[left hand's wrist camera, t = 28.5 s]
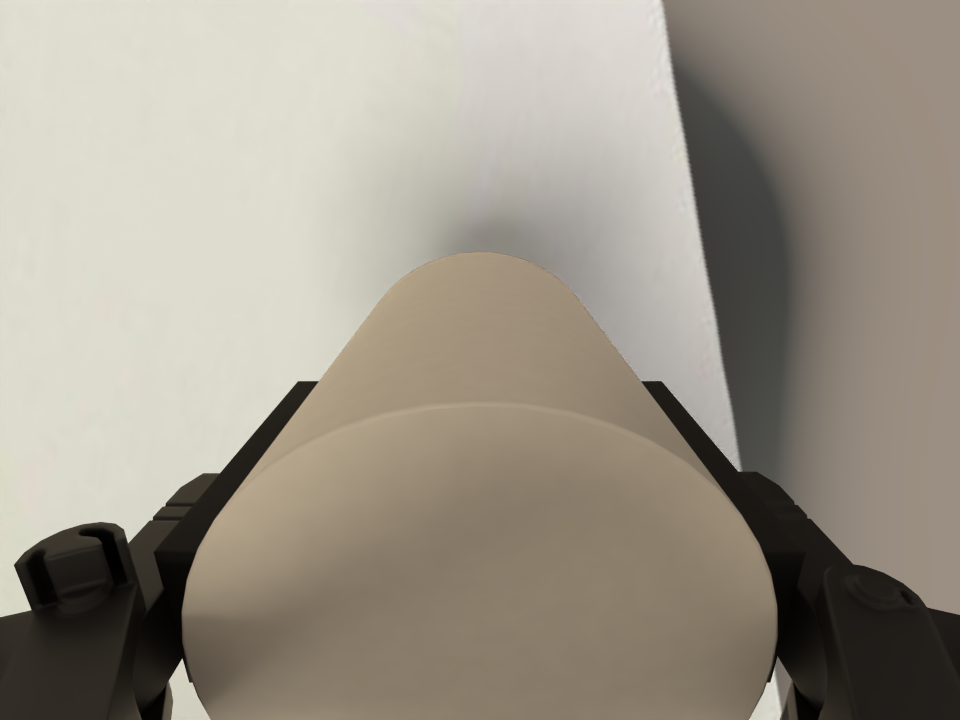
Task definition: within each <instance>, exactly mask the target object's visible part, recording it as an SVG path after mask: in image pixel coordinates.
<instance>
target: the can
mask: <svg viewBox="0 0 960 720" xmlns="http://www.w3.org/2000/svg"><path fill="white" fill-rule="evenodd" d="M777 637H778V632H777V603H776V597H775V592H774V587H773V582H772V577H771V573H770V570H769V568H768V565H767V563H766V560H765V557H764V555H763V552H762V550H761V547H760V545H759V543H758V541H757V539H756V538H755V536H754V535H753V533H752V531H751V530H750V528H749V526H748V525H747V523H746V521H745V520H744V518H743V516H742V515H741V513H740V512H739V511H738V509H737V508H736V507H735V506H734V504H733V503H732V502H731V500H730V499H729V498H728V496H727V495H726V494H725V492H724V491H723V490H722V488H721V487H720V486H719V484H718V483H717V482H716V480H715V479H714V478H713V476H712V475H711V474H710V472H709V471H708V470H707V468H706V467H705V466H704V464H703V463H702V462H701V460H700V459H699V458H698V457H697V455H696V454H695V453H694V451H693V450H692V449H691V447H690V446H689V445H688V443H687V442H686V441H685V439H684V438H683V437H682V435H681V434H680V433H679V431H678V430H677V429H676V427H675V426H674V425H673V423H672V422H671V421H670V419H669V418H668V417H667V415H666V414H665V413H664V411H663V410H662V409H661V407H660V406H659V405H658V404H657V402H656V401H655V400H654V398H653V397H652V396H651V394H650V393H649V392H648V390H647V389H646V388H645V386H644V385H643V384H642V382H641V381H640V380H639V378H638V377H637V376H636V374H635V373H634V372H633V370H632V369H631V368H630V366H629V365H628V364H627V362H626V361H625V360H624V358H623V357H622V356H621V355H620V353H619V352H618V351H617V349H616V348H615V347H614V345H613V344H612V343H611V341H610V340H609V339H608V337H607V336H606V335H605V333H604V332H603V331H602V329H601V328H600V327H599V325H598V324H597V323H596V321H595V320H594V319H593V317H592V316H591V315H590V313H589V312H588V311H587V309H586V308H585V307H584V305H583V304H582V303H581V302H580V300H579V299H578V298H577V297H576V296H575V294H574V293H573V292H572V291H571V290H570V289H569V288H568V287H567V286H566V285H565V284H564V283H563V282H562V281H560V280H559V279H558V278H557V277H555V276H554V275H552V274H551V273H549V272H548V271H546V270H545V269H543V268H541V267H539V266H537V265H535V264H533V263H531V262H529V261H526V260H523V259H520V258H517V257H514V256H510V255H505V254H500V253H491V252H469V253H459V254H455V255H450V256H445V257H442V258H439V259H437V260H434V261H431V262H428V263H426V264H424V265H422V266H421V267H419V268H417V269H415V270H413V271H412V272H410V273H409V274H407V275H406V276H404V277H403V278H402V279H400V280H399V281H398V282H397V283H396V284H395V285H394V286H393V287H392V288H391V289H389V290H388V292H387V293H386V294H385V295H384V296H383V298H382V299H381V300H380V301H379V303H378V304H377V305H376V307H375V308H374V309H373V311H372V312H371V313H370V315H369V316H368V317H367V318H366V320H365V321H364V322H363V324H362V325H361V326H360V328H359V329H358V330H357V332H356V333H355V334H354V336H353V337H352V338H351V340H350V341H349V342H348V344H347V345H346V346H345V348H344V349H343V350H342V352H341V353H340V354H339V356H338V357H337V358H336V360H335V361H334V362H333V363H332V365H331V366H330V367H329V369H328V370H327V371H326V373H325V374H324V375H323V377H322V378H321V379H320V381H319V382H318V383H317V385H316V386H315V387H314V389H313V390H312V391H311V393H310V394H309V395H308V397H307V398H306V399H305V401H304V402H303V403H302V404H301V406H300V407H299V408H298V410H297V411H296V412H295V414H294V415H293V416H292V418H291V419H290V420H289V422H288V423H287V424H286V426H285V427H284V428H283V430H282V431H281V432H280V434H279V435H278V436H277V438H276V439H275V440H274V442H273V443H272V444H271V446H270V447H269V448H268V449H267V451H266V452H265V453H264V455H263V456H262V457H261V459H260V460H259V461H258V463H257V464H256V465H255V467H254V468H253V469H252V471H251V472H250V473H249V475H248V476H247V477H246V479H245V480H244V481H243V483H242V484H241V485H240V487H239V488H238V489H237V490H236V492H235V493H234V494H233V496H232V497H231V498H230V500H229V501H228V502H227V504H226V505H225V506H224V508H223V509H222V510H221V512H220V513H219V514H218V516H217V517H216V518H215V520H214V521H213V523H212V525H211V527H210V528H209V530H208V532H207V534H206V535H205V537H204V539H203V541H202V542H201V544H200V546H199V548H198V550H197V553H196V555H195V558H194V561H193V564H192V567H191V569H190V572H189V575H188V578H187V583H186V589H185V595H184V601H183V607H182V642H183V647H184V652H185V658H186V663H187V668H188V671H189V674H190V677H191V679H192V682H193V685H194V687H195V690H196V693H197V695H198V698H199V699H200V701H201V703H202V705H203V706H204V708H205V710H206V712H207V714H208V715H209V717H210V719H211V720H749V718H750V717H751V715H752V713H753V711H754V709H755V707H756V705H757V704H758V702H759V700H760V698H761V696H762V694H763V692H764V689H765V686H766V683H767V681H768V678H769V675H770V672H771V669H772V666H773V661H774V655H775V649H776V643H777Z"/></svg>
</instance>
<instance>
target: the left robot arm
mask: <svg viewBox="0 0 960 720" xmlns="http://www.w3.org/2000/svg"><path fill="white" fill-rule="evenodd" d="M318 382H319V381H298V382H297V383H296V385H295V386H294V387H293V388H292V389H291V390H290V392H289V393H288V394H287V395H286V396H285V397H284V399H283V400H282V401H281V402H280V403H279V405H278V406H277V407H276V408H275V409H274V410H273V412H272V413H271V414H270V415H269V416H268V418H267V419H266V420H265V421H264V422H263V423H262V425H261V426H260V427H259V428H258V429H257V430H256V432H255V433H254V434H253V435H252V436H251V438H250V439H249V440H248V441H247V442H246V443H245V445H244V446H243V447H242V448H241V449H240V450H239V452H238V453H237V454H236V455H235V456H234V458H233V459H232V460H231V461H230V462H229V463H228V465H227V466H226V467H225V468H224V469H223V471H222V472H221V473H203V474H202V475H200V476H198V477H197V478H195V479H194V480H192V481H190V482H189V483H187V484H185V485H184V486H182V487H181V488H180V489H179V490H178V491H177V492H176V493H175V494H174V495H173V496H172V497H171V498H170V499H169V501H168V502H167V503H166V506H165V507H162V508H161V509H160V510H159V511H158V512H157V513H156V514H155V516H154V517H153V520H152V521H149V522H148V523H147V524H146V525H145V526H144V527H143V528H142V529H141V531H140V532H139V533H138V534H137V535H136V536H135V537H134V538H133V539H132V540H131V541H130V542H129V543H128V542H127V539H126V535H125V532H124V529H122V528H121V527H119V526H118V525H116V524H113V523H104V522H98V523H90V524H83V525H79V526H76V527H73V528H69V529H66V530H63V531H60V532H58V533H56V534H54V535H52V536H50V537H48V538H46V539H44V540H42V541H40V542H39V543H37V544H36V545H34V546H33V547H32V548H30V549H29V550H27V551H26V552H25V553H24V554H23V555H22V556H21V557H20V558H19V560H18V561H17V562H16V563H15V564H14V567H15V569H16V572H17V574H18V577H19V579H20V582H21V584H22V587H23V589H24V592H25V594H26V597H27V599H28V602H29V604H30V607H31V609H32V610H30V611H26V612H22V613H18V614H13V615H9V616H4V617H0V720H171V715H172V706H173V698H172V692H171V688H170V684H169V679H170V678H171V676H172V674H173V673H174V671H175V669H176V668H177V666H178V664H179V663H180V661H181V659H182V658H183V661H184V665H185V668H186V672H187V676H188V679H189V683H193V682H192V679H191V677H190V674H189V671H188V668H187V663H186V658H185V652H184V647H183V642H182V607H183V601H184V595H185V589H186V583H187V578H188V575H189V572H190V569H191V567H192V564H193V561H194V558H195V555H196V553H197V550H198V548H199V546H200V544H201V542H202V541H203V539H204V537H205V535H206V534H207V532H208V530H209V528H210V527H211V525H212V523H213V521H214V520H215V518H216V517H217V516H218V514H219V513H220V512H221V510H222V509H223V508H224V506H225V505H226V504H227V502H228V501H229V500H230V498H231V497H232V496H233V494H234V493H235V492H236V490H237V489H238V488H239V487H240V485H241V484H242V483H243V481H244V480H245V479H246V477H247V476H248V475H249V473H250V472H251V471H252V469H253V468H254V467H255V465H256V464H257V463H258V461H259V460H260V459H261V457H262V456H263V455H264V453H265V452H266V451H267V449H268V448H269V447H270V446H271V444H272V443H273V442H274V440H275V439H276V438H277V436H278V435H279V434H280V432H281V431H282V430H283V428H284V427H285V426H286V424H287V423H288V422H289V420H290V419H291V418H292V416H293V415H294V414H295V412H296V411H297V410H298V408H299V407H300V406H301V404H302V403H303V402H304V401H305V399H306V398H307V397H308V395H309V394H310V393H311V391H312V390H313V389H314V387H315V386H316V385H317V383H318ZM641 382H642V384H643V385H644V386H645V388H646V389H647V390H648V392H649V393H650V394H651V396H652V397H653V398H654V400H655V401H656V402H657V404H658V405H659V406H660V407H661V409H662V410H663V411H664V413H665V414H666V415H667V417H668V418H669V419H670V421H671V422H672V423H673V425H674V426H675V427H676V429H677V430H678V431H679V433H680V434H681V435H682V437H683V438H684V439H685V441H686V442H687V443H688V445H689V446H690V447H691V449H692V450H693V451H694V453H695V454H696V455H697V457H698V458H699V459H700V460H701V462H702V463H703V464H704V466H705V467H706V468H707V470H708V471H709V472H710V474H711V475H712V476H713V478H714V479H715V480H716V482H717V483H718V484H719V486H720V487H721V488H722V490H723V491H724V492H725V494H726V495H727V496H728V498H729V499H730V500H731V502H732V503H733V504H734V506H735V507H736V508H737V509H738V511H739V512H740V513H741V515H742V516H743V518H744V520H745V521H746V523H747V525H748V526H749V528H750V530H751V531H752V533H753V535H754V536H755V538H756V539H757V541H758V543H759V545H760V547H761V550H762V552H763V555H764V557H765V560H766V563H767V565H768V568H769V570H770V573H771V577H772V582H773V587H774V592H775V597H776V603H777V632H778V637H777V643H776V649H775V655H774V661H773V666H772V669H771V672H770V675H769V678H768V681H767V682H770V681H771V678H772V674H773V671H774V667H775V663H776V660H777V656H778V657H779V659H780V661H781V662H782V664H783V666H784V667H785V669H786V670H787V672H788V674H789V675H790V677H791V679H792V681H791V684H790V688H789V691H788V694H787V698H786V701H785V704H784V708H783V711H782V715H781V718H780V720H960V615H957V614H953V613H948V612H944V611H939V610H935V609H930V608H927V607H926V606H925V604H924V603H923V601H922V600H921V599H920V597H919V596H918V595H917V594H915V593H914V592H913V591H912V590H911V589H909V588H908V587H907V586H906V585H904V584H903V583H901V582H900V581H898V580H896V579H894V578H892V577H890V576H889V575H887V574H885V573H883V572H880V571H877V570H874V569H871V568H868V567H865V566H860V565H853V564H852V563H851V561H850V560H849V559H848V558H847V557H846V556H845V555H844V554H843V553H842V552H841V551H840V550H839V549H838V548H837V547H836V546H835V544H834V543H833V542H832V541H831V540H830V539H829V538H828V537H827V536H826V535H825V534H824V533H823V532H822V531H821V530H820V528H819V527H818V526H817V525H816V524H815V523H814V522H813V521H812V520H811V519H808V518H807V515H806V514H805V513H804V511H803V510H802V509H801V508H800V507H799V506H798V505H795V504H794V501H793V500H792V499H791V498H790V497H789V496H788V495H787V493H786V492H785V491H784V490H783V489H782V488H781V487H780V486H779V485H777V484H776V483H774V482H772V481H771V480H769V479H768V478H766V477H764V476H763V475H761V474H759V473H758V472H738V471H737V470H736V469H735V467H734V466H733V465H732V464H731V463H730V462H729V460H728V459H727V458H726V457H725V456H724V454H723V453H722V452H721V451H720V450H719V449H718V447H717V446H716V445H715V444H714V443H713V441H712V440H711V439H710V438H709V437H708V436H707V434H706V433H705V432H704V431H703V430H702V429H701V427H700V426H699V425H698V424H697V423H696V421H695V420H694V419H693V418H692V417H691V416H690V414H689V413H688V412H687V411H686V410H685V408H684V407H683V406H682V405H681V404H680V403H679V401H678V400H677V399H676V398H675V397H674V396H673V394H672V393H671V392H670V391H669V390H668V388H667V387H666V386H665V385H664V384H663V383H662V381H641Z"/></svg>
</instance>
